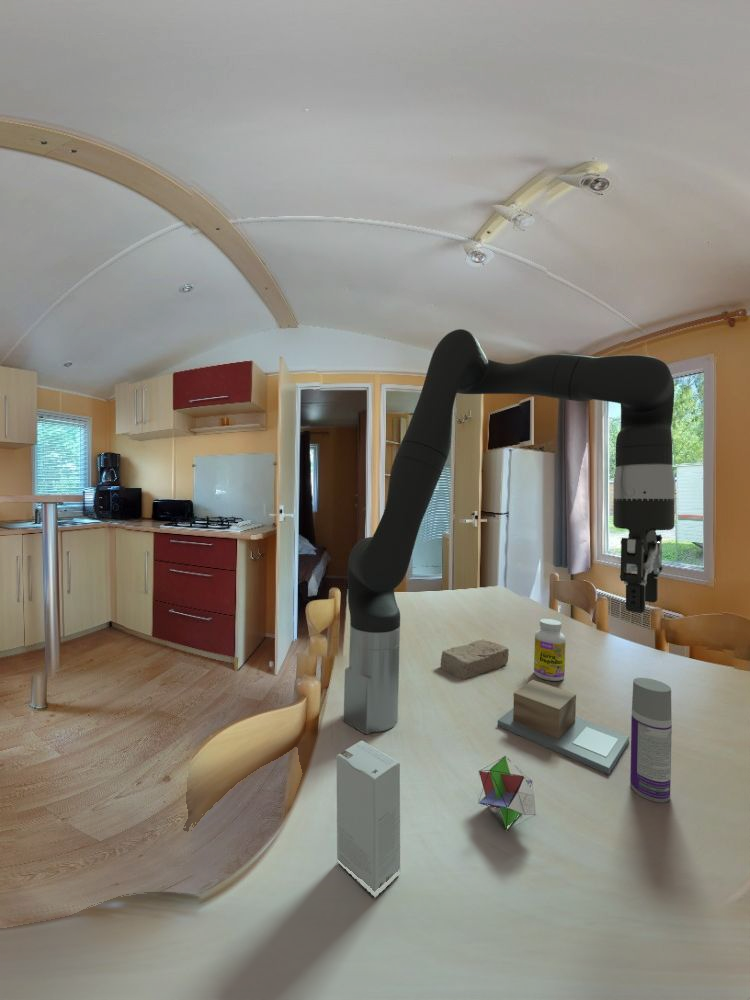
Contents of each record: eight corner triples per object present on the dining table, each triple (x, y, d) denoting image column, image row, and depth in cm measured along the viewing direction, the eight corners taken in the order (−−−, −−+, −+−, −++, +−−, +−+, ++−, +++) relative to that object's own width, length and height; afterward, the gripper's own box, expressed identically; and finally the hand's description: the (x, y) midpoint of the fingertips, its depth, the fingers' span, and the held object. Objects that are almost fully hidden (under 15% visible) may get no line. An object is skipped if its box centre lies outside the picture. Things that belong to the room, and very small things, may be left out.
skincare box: (401, 874, 43) (404, 760, 43) (373, 904, 40) (376, 781, 40) (361, 840, 47) (363, 736, 47) (332, 864, 44) (335, 753, 44)
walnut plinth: (558, 739, 67) (559, 709, 67) (513, 720, 73) (513, 692, 73) (575, 721, 73) (575, 694, 73) (531, 705, 78) (532, 679, 78)
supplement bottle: (534, 679, 93) (535, 623, 93) (533, 668, 99) (534, 616, 99) (566, 684, 90) (567, 627, 90) (562, 672, 97) (564, 619, 97)
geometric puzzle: (455, 791, 53) (489, 759, 49) (482, 767, 58) (515, 737, 54) (494, 851, 49) (534, 822, 45) (520, 821, 53) (558, 792, 50)
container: (632, 774, 60) (634, 674, 60) (671, 789, 57) (673, 683, 57) (627, 791, 56) (630, 684, 57) (669, 808, 53) (671, 695, 54)
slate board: (608, 774, 60) (609, 767, 60) (497, 725, 73) (497, 719, 73) (628, 742, 68) (629, 735, 68) (526, 703, 81) (526, 697, 81)
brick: (464, 681, 91) (464, 660, 91) (438, 668, 98) (439, 648, 98) (509, 666, 101) (510, 647, 101) (483, 655, 108) (483, 637, 108)
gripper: (664, 496, 52) (664, 622, 52) (682, 497, 62) (681, 602, 62) (600, 496, 57) (599, 610, 57) (626, 497, 67) (625, 594, 67)
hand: (642, 606), depth 59 cm, fingers open, 8 cm apart
